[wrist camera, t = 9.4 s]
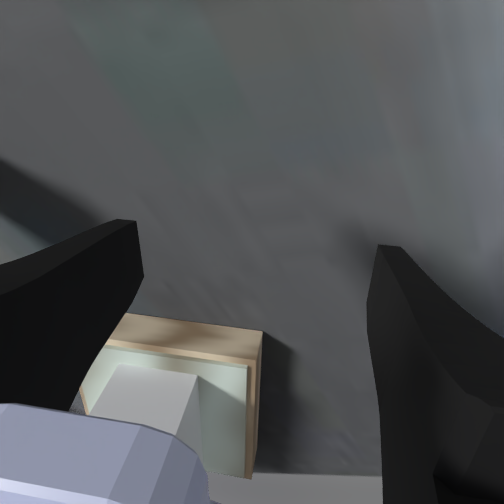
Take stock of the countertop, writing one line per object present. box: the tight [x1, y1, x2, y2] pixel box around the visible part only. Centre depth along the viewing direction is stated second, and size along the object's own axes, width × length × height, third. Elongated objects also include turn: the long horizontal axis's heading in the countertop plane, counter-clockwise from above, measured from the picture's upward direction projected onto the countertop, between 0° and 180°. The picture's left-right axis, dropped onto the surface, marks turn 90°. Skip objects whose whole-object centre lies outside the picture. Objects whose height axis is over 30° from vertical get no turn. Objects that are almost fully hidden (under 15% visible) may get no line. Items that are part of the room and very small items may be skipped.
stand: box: [79, 313, 263, 479], centre depth 29 cm, size 12×12×3 cm
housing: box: [89, 363, 203, 465], centre depth 26 cm, size 9×5×6 cm, turn 179°
